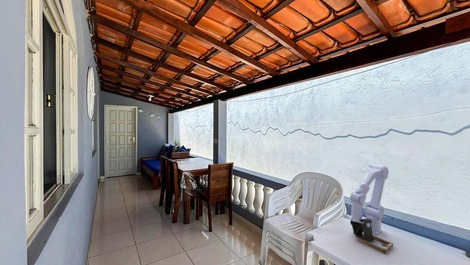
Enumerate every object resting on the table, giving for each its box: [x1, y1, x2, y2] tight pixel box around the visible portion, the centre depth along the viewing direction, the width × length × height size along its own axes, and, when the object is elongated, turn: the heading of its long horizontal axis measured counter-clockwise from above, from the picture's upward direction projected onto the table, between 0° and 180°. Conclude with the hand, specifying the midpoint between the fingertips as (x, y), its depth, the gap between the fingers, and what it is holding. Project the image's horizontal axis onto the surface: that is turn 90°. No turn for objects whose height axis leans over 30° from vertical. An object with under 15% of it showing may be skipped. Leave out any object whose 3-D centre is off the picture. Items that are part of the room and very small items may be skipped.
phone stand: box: [352, 217, 375, 243], centre depth 118 cm, size 9×6×12 cm, turn 20°
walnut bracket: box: [357, 234, 394, 255], centre depth 113 cm, size 12×14×2 cm
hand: (355, 233), depth 122 cm, fingers closed
